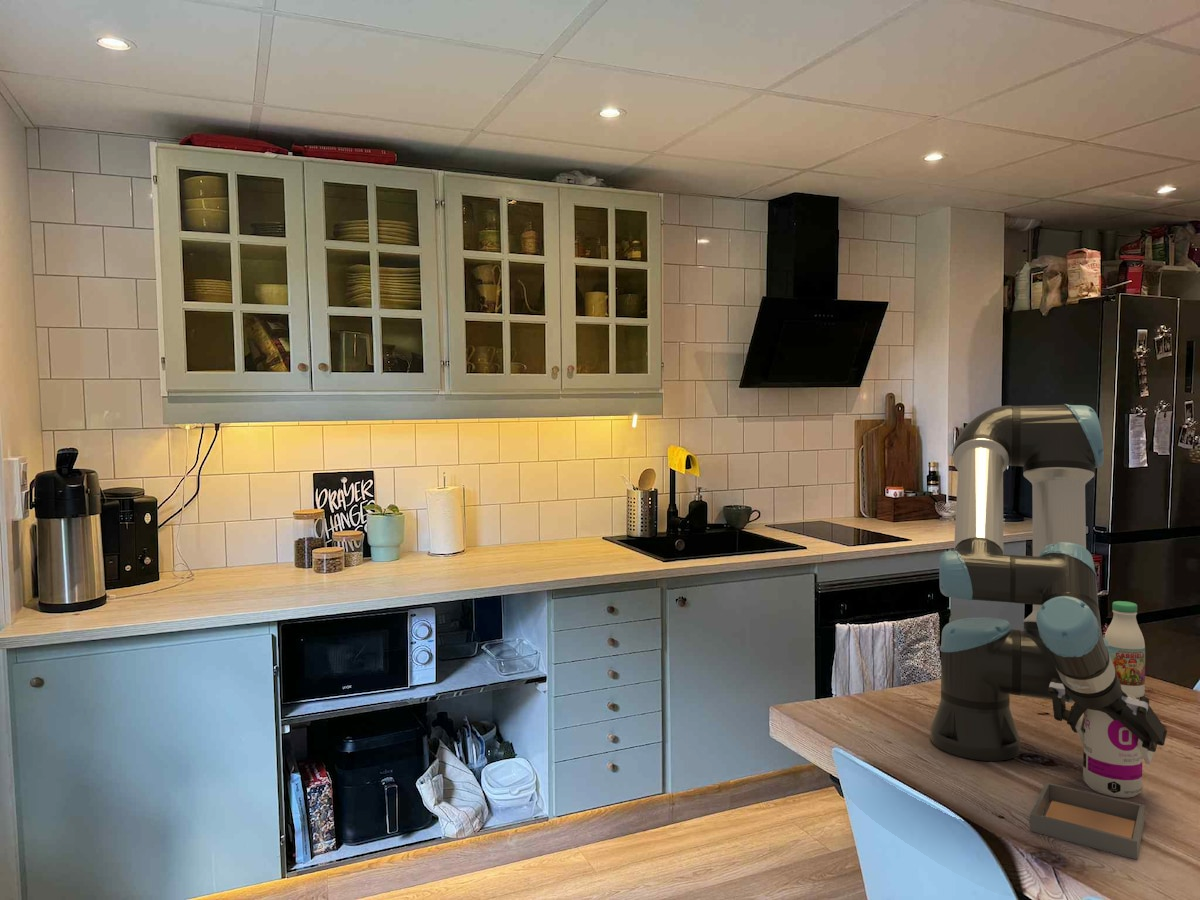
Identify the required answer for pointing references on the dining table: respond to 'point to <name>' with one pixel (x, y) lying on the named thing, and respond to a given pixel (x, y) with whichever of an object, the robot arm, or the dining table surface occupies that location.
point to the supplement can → (1111, 756)
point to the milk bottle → (1127, 648)
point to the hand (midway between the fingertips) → (1118, 748)
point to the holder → (1089, 819)
